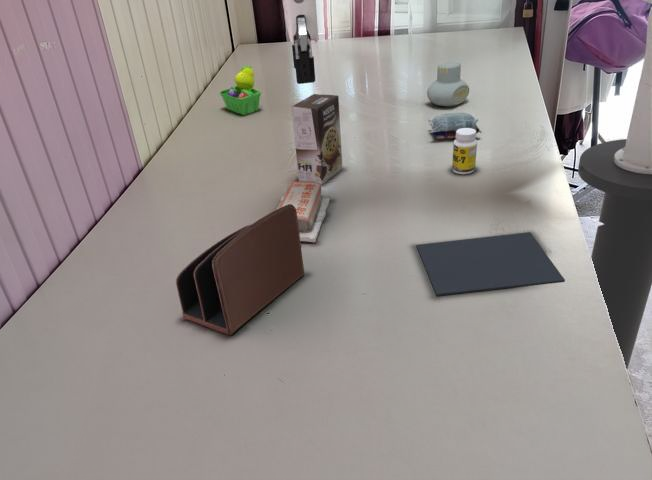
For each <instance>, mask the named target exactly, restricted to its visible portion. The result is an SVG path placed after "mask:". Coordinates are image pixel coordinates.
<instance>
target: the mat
mask: <svg viewBox="0 0 652 480" xmlns="http://www.w3.org/2000/svg"><path fill="white" fill-rule="evenodd" d="M416 249H417V252H418V254H419V257H420V259H421V261H422V264H423V266H424V268H425V269H424V270H425V271H426V274H427V276H428V278H429V281H430V283H431V286H432V288H433V291H434V293H435V295H436V297H441V296H450V295H451V296H453V295H461V294H468V293H469V294H470V293H478V292H486V291H487V292H488V291H496V290H507V289H514V288H522V287H523V288H524V287H532V286H542V285H550V284H551V285H552V284H560V283H565V282H566V279H565V278H564V276H563V275H562V273H561V272H560V271H559V270H558V268H557V267H556V265H555V264H554V263H553V261H552V260H551V259H550V257H549V255H548V254H547V253H546V252H545V250H544V249H543V248H542V246H541V245H540V243H539V242H538V240H537V239H536V238H535V237H534V235H533V234H532V233H531V231H529V232H518V233H510V234H502V235H493V236H483V237H475V238H466V239H465V238H464V239H457V240H448V241H447V240H446V241H438V242H429V243H422V244H421V243H420V244H416Z"/></svg>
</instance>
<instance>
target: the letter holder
mask: <svg viewBox="0 0 652 480" xmlns="http://www.w3.org/2000/svg"><path fill="white" fill-rule="evenodd" d="M276 209H277V208H276ZM276 209H275V210H273V211H271V212H269V213H268V214H266V215H264V216H262V217H261V218H260V219H257V220H256V221H255V222H253V223H252V224H248V225H245V226H243V227H241V228H239V229H238V230H236V231H234V232H232V233H230V234H228V235H226V236H225V237H224V238H222V239H220V240H219V241H218V242H216V243H214V244H213V245H212V246H210V247H209V248H207V249H206V250H205V251H203V252H202V253H200V254H199V255H198V256H196V258H194V259H193V260H192V261H190V263H188V264H187V265H186V266H185V267H184V268H183V269H182V270H181V271H180V272H179V273H178V275H177V276H176V279H175V285H176V290H177V294H178V299H179V303H180V307H181V312H182V317H183V319H184V320H188V321H190V322H193V323H196V324H198V325H201V326H204V327H205V328H206V327H207V328H209V329H211V330H215V331H217V332H220V333H222V334H225V335H227V336H232V335H233V334H234V333H235V332H237V330H239V329H240V328H241V327H242V326H243V325H245V324H246V323H247V322H248V321H249V320H250V319H252V318H253V317H254V316H255V315H256V314H258V313H259V312H260V311H262V310H263V309H264V308H265V307H267V306H268V305H269V304H270V303H272V302H273V301H274V300H275V299H277V298H278V297H279V296H280V295H281V294H282V293H284V292H285V291H286V290H288V288H290V287H291V286H292V285H294V283H296V282H297V281H298V280H299V279H301V278H302V277H303V276H304V275H305V267H304V261H303V260H304V259H303V252H302V245H301V244H302V243H301V241H300V234H299V226H298V219H297V212H296V208H295V207H294V206H293V205H292V204H288V205H286V206H283V207H281V208H279V209H277V210H276Z"/></svg>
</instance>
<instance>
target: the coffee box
mask: <svg viewBox="0 0 652 480" xmlns="http://www.w3.org/2000/svg"><path fill="white" fill-rule="evenodd" d="M339 98H340V97H339V95H336V94H319V93H313V94H311V95H310V96H307V97H306V98H304V99H303V100H301V101H299V102H297V103H295V104H293V105H291V114H292V124H293V134H294V147H295V155H296V156H295V157H296V164H297V165H296V167H297V177H298V178H297V179H298V181H303V182H304V181H315V182H317V183H320V184H321V185H323V184H324V183H327V182H328V181H329V180H330V179H331V178H333V177H334V176H335V175H337V174H338V173H339V172H341V171H343V152H342V150H343V149H342V137H341V119H340V118H341V117H340V116H341V115H340V101H339V100H340V99H339Z"/></svg>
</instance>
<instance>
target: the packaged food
mask: <svg viewBox="0 0 652 480" xmlns="http://www.w3.org/2000/svg"><path fill="white" fill-rule="evenodd" d="M427 121H428V122H429V123H428V124H429V126H431V129H432V130H431V131H430V132H429V134H430V135H432V137H433V136H434V138H436V139H438V140H439V139H440V140H441V139H443V140H444V139H456V131H457V130H458V129H461V128H472V129H475V130H476V135H477V134H478V133H480V134H482V130H480V128H479V127H478V125H477V122H479V118H476V117H475V116H473V115H472V114H470V113H468V112H467V113H466V112H451V113H450V112H449V113H443V114H440V115H436V116H434V117H433V118H431V119H429V118H428V120H427Z"/></svg>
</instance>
